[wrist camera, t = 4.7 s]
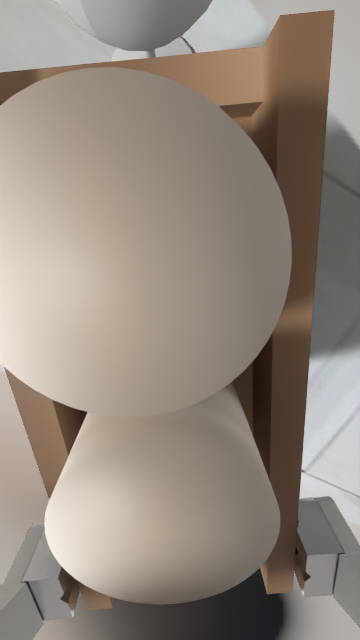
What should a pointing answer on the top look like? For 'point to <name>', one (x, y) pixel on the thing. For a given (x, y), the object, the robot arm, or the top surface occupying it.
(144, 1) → the wineglass
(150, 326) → the tray
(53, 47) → the top surface
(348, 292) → the top surface
